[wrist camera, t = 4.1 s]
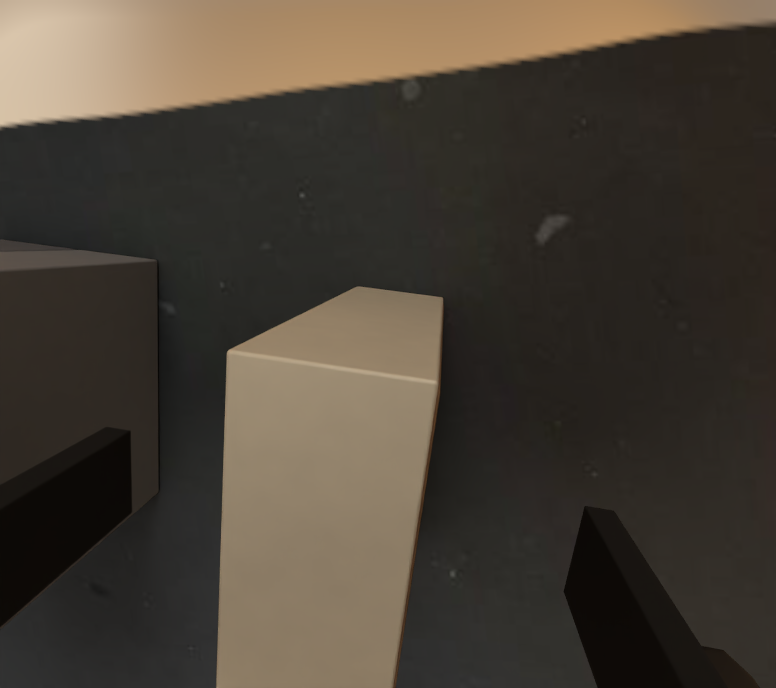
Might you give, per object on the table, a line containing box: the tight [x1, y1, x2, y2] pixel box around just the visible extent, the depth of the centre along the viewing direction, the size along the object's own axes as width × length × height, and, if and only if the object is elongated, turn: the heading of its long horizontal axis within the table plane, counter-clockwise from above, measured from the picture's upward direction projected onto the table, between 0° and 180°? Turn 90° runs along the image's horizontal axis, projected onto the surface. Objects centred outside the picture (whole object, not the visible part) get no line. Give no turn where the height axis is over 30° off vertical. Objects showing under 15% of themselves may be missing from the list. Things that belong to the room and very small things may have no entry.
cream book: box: [216, 286, 444, 688], centre depth 14 cm, size 4×11×11 cm, turn 173°
